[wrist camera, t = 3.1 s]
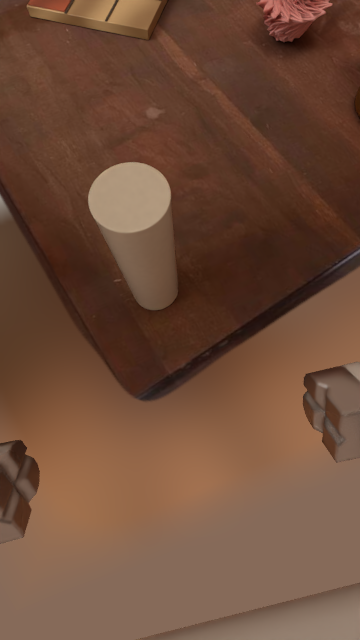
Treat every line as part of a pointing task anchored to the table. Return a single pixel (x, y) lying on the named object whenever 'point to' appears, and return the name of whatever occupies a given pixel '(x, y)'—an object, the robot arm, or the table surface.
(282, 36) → the flower
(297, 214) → the table surface
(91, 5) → the board
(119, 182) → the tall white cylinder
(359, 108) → the mug
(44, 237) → the table surface
